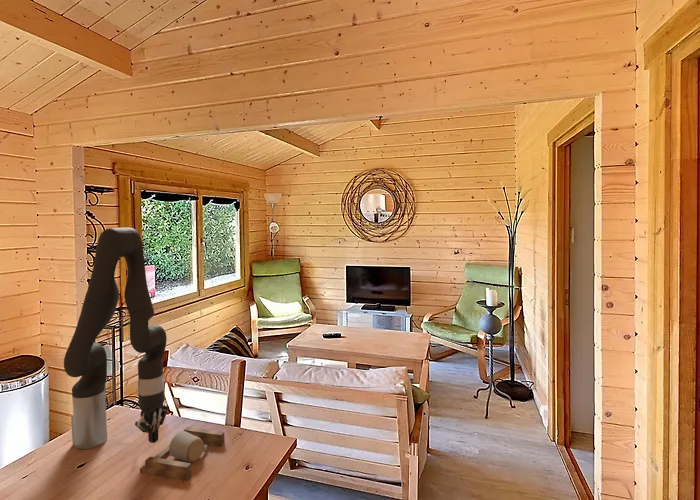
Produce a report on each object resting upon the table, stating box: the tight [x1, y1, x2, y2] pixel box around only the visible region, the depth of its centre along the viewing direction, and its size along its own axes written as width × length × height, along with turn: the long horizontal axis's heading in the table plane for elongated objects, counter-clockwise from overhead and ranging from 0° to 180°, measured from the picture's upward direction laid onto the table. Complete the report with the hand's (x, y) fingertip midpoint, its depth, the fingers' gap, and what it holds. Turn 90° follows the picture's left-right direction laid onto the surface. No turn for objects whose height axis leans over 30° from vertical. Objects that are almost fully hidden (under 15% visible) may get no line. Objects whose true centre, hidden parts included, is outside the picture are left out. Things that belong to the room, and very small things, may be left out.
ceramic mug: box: [169, 430, 208, 463], centre depth 130 cm, size 11×8×8 cm
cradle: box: [139, 426, 226, 482], centre depth 129 cm, size 16×20×4 cm
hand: (153, 441), depth 132 cm, fingers closed
